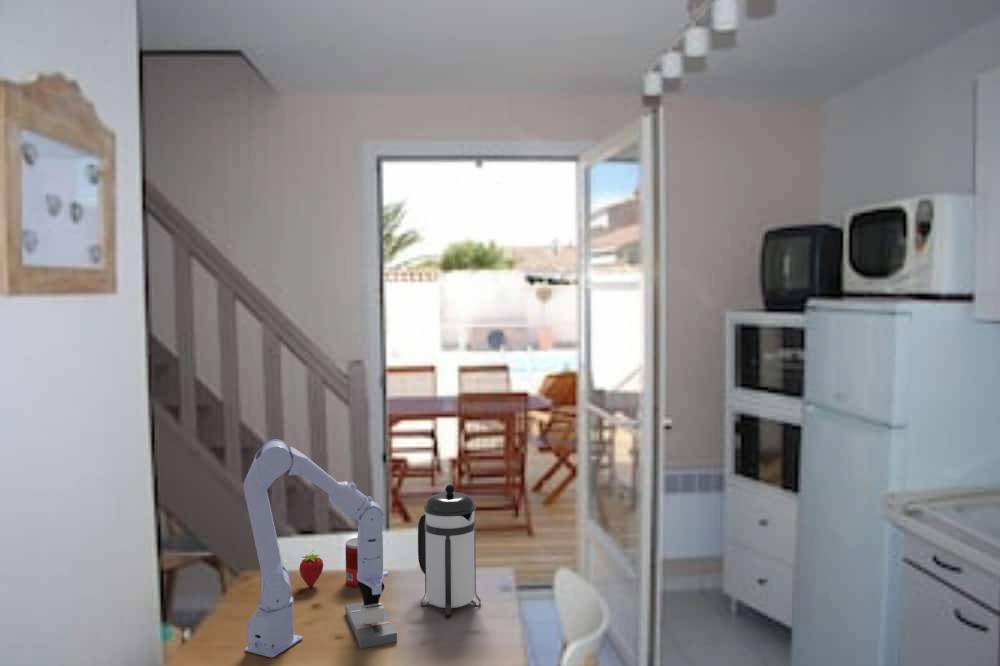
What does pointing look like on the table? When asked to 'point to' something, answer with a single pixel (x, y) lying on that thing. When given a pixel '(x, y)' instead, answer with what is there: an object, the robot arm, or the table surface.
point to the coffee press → (448, 550)
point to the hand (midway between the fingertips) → (370, 614)
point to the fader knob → (373, 613)
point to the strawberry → (311, 569)
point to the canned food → (352, 562)
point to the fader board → (370, 628)
